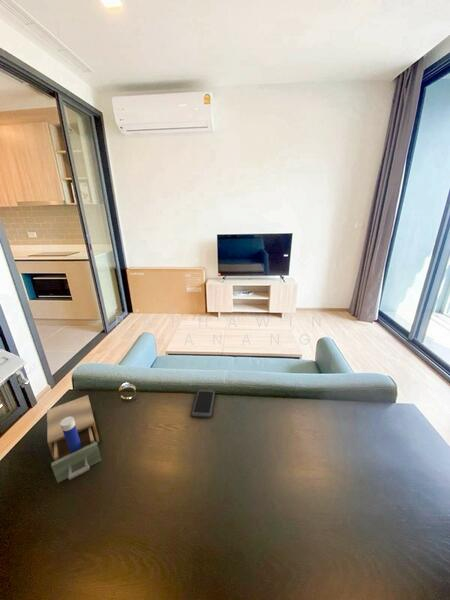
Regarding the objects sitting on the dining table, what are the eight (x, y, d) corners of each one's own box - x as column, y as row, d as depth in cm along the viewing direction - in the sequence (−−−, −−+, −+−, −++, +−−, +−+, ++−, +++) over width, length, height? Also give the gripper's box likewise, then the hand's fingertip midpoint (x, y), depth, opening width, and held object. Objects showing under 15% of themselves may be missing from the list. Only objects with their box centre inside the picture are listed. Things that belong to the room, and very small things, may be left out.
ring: (138, 396, 102) (135, 380, 99) (136, 401, 99) (133, 385, 96) (120, 398, 101) (117, 382, 98) (118, 403, 98) (115, 387, 95)
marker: (72, 463, 73) (60, 428, 68) (71, 454, 76) (59, 420, 71) (84, 456, 75) (74, 422, 70) (83, 448, 77) (73, 414, 73)
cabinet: (99, 442, 82) (94, 422, 79) (54, 463, 75) (47, 443, 72) (92, 412, 94) (87, 394, 91) (53, 428, 87) (46, 410, 84)
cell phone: (191, 416, 91) (190, 415, 91) (198, 390, 104) (198, 389, 104) (210, 417, 90) (210, 416, 90) (215, 391, 103) (215, 390, 103)
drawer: (104, 471, 72) (99, 455, 69) (58, 496, 66) (51, 479, 63) (94, 428, 86) (90, 413, 84) (55, 445, 80) (50, 429, 78)
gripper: (-7, 353, 74) (35, 378, 78) (-87, 403, 55) (-26, 434, 58) (2, 340, 73) (45, 366, 76) (-76, 387, 53) (-14, 419, 57)
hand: (14, 396), depth 67 cm, fingers open, 8 cm apart
